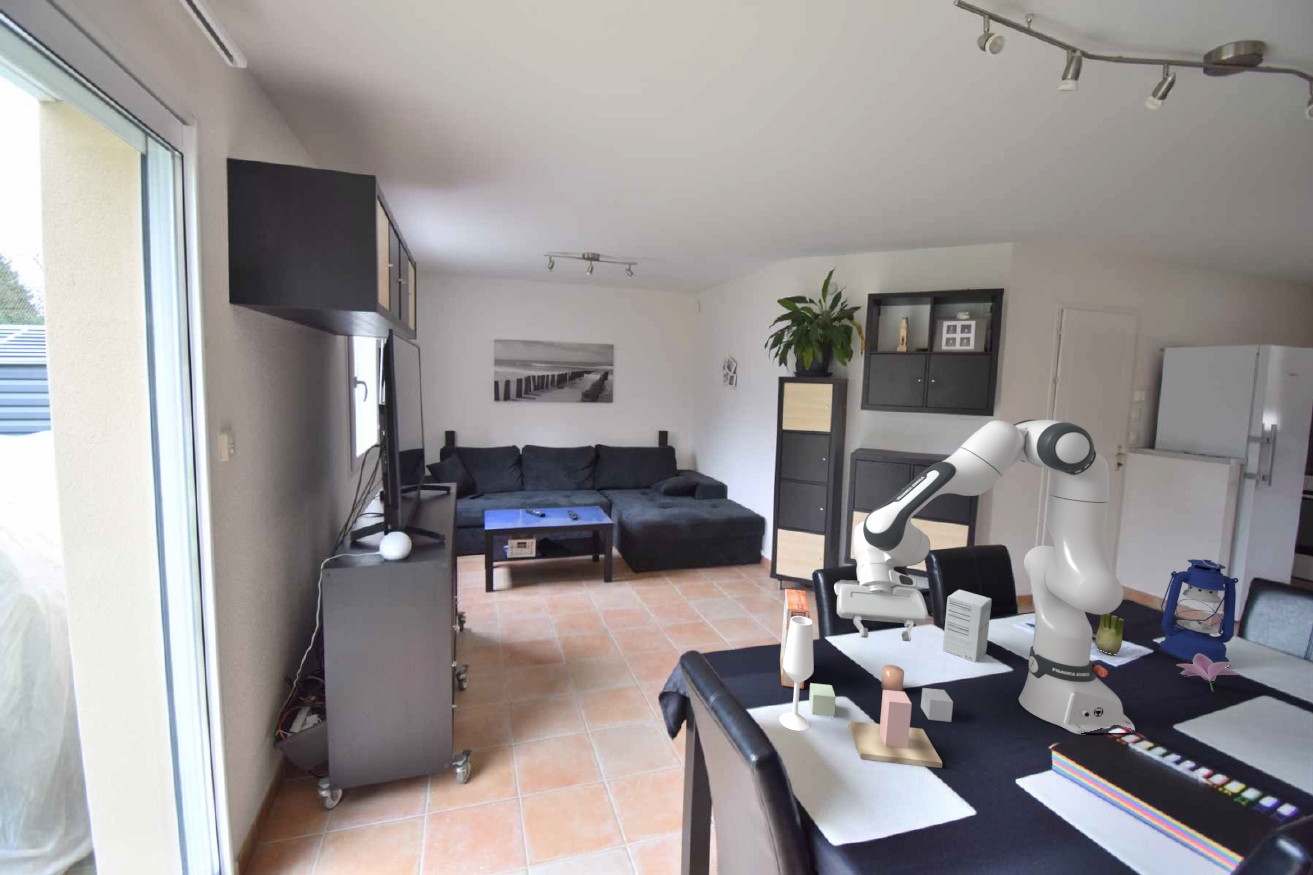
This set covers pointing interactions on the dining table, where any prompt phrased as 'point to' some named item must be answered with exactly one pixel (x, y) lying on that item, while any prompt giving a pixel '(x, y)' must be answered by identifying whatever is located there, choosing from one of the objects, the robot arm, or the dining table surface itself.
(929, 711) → the grey plastic block
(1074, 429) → the robot arm
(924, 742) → the pine board
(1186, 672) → the lily
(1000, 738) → the dining table surface
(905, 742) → the rose block
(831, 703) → the sage painted block
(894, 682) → the terracotta cylinder
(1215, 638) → the lantern
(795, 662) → the champagne flute
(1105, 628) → the fennel bulb
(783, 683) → the cracker box
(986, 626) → the supplement box
